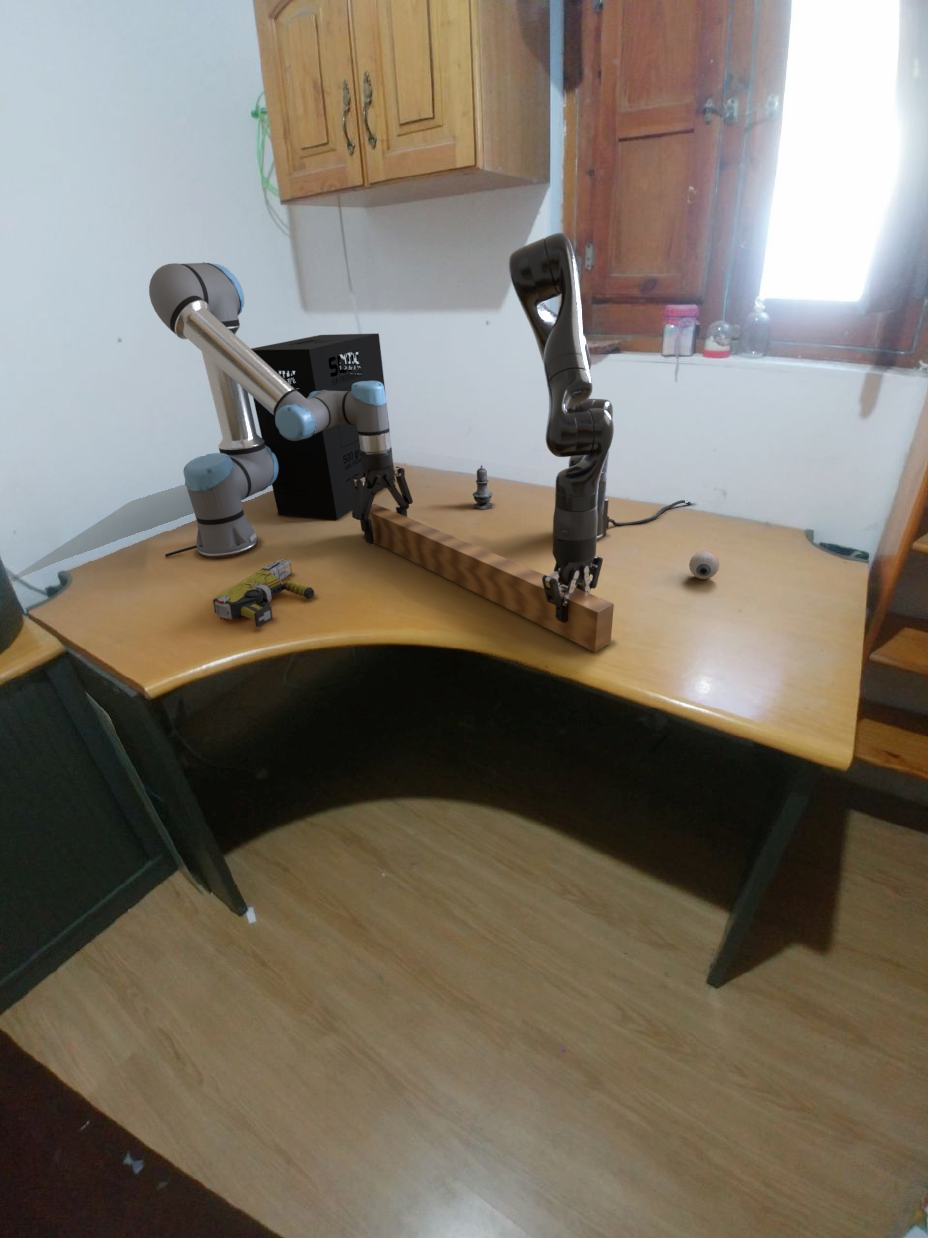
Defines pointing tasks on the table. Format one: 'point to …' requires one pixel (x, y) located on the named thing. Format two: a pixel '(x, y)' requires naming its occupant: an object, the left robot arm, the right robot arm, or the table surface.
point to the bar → (493, 578)
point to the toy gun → (258, 594)
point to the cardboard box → (329, 458)
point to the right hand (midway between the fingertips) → (571, 615)
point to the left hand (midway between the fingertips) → (386, 537)
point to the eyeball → (704, 564)
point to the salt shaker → (482, 490)
